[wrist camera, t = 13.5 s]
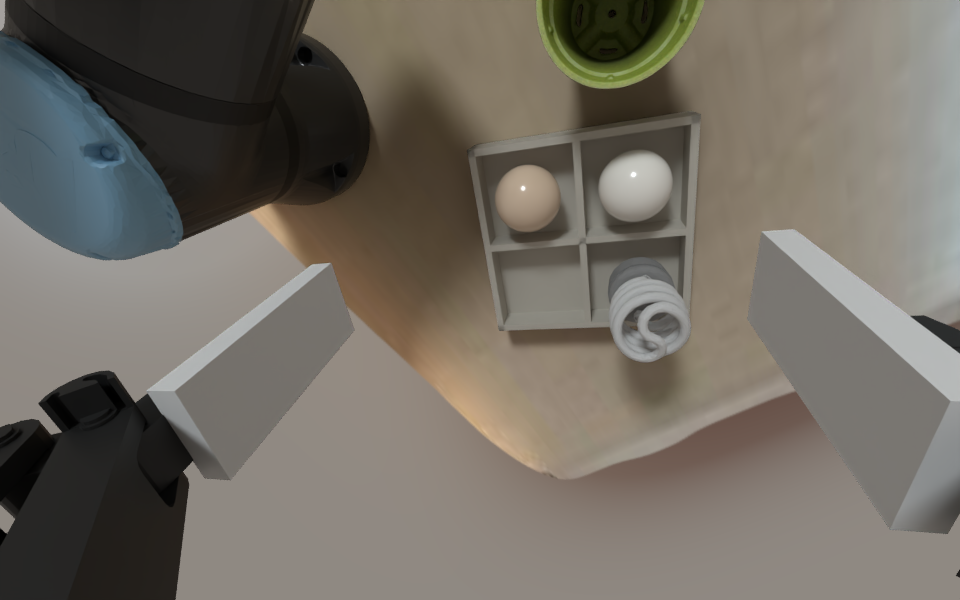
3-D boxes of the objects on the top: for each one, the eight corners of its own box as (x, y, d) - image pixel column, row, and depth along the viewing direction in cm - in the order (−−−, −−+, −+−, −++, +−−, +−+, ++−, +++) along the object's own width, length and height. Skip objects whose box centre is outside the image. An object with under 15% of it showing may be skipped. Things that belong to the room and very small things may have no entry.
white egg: (598, 214, 38) (600, 234, 33) (595, 149, 35) (597, 161, 31) (665, 207, 36) (678, 227, 31) (667, 139, 34) (681, 150, 29)
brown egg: (505, 223, 40) (494, 244, 35) (496, 163, 38) (483, 177, 33) (564, 217, 39) (562, 238, 34) (559, 154, 36) (555, 167, 31)
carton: (503, 315, 46) (498, 330, 43) (475, 144, 38) (467, 150, 35) (682, 307, 41) (688, 324, 38) (691, 110, 33) (700, 114, 30)
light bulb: (667, 295, 40) (696, 373, 30) (605, 299, 42) (613, 374, 31) (667, 239, 38) (699, 303, 27) (602, 246, 39) (609, 308, 29)
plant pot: (545, 88, 35) (535, 92, 27) (548, -58, 30) (536, -101, 23) (667, 82, 33) (691, 84, 25) (689, -76, 28) (726, -129, 21)
